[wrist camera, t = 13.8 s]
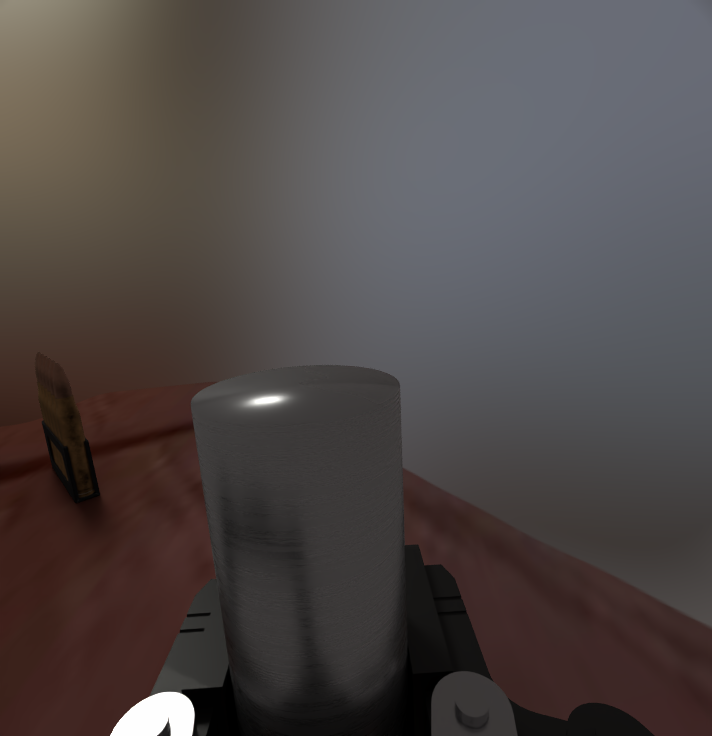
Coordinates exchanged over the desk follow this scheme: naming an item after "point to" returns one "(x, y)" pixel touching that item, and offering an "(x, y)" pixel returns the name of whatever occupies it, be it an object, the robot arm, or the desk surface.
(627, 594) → the desk surface
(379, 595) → the steel pin
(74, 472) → the ammunition clip
